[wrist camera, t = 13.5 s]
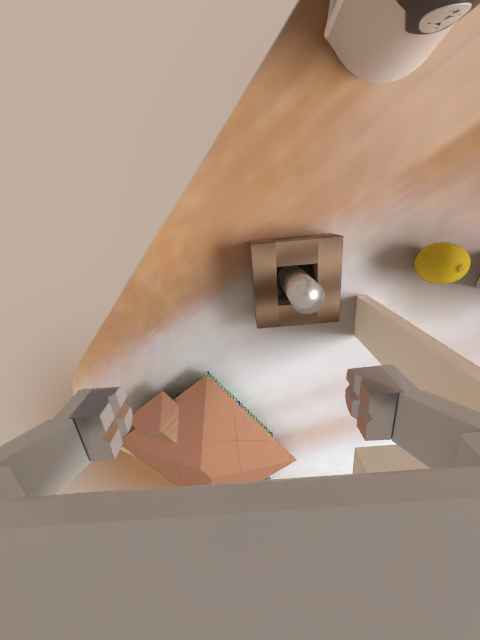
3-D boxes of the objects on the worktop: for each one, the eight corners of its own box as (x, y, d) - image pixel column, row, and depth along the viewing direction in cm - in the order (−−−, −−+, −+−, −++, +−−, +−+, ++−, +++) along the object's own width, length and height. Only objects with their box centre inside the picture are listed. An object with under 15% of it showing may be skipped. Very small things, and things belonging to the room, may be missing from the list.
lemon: (413, 236, 40) (453, 241, 32) (447, 244, 40) (494, 251, 33) (397, 272, 42) (432, 285, 34) (430, 279, 42) (471, 294, 35)
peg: (277, 265, 41) (290, 283, 31) (303, 263, 41) (325, 280, 31) (278, 290, 43) (291, 315, 32) (303, 288, 43) (324, 312, 32)
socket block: (249, 241, 40) (251, 244, 35) (330, 233, 39) (343, 236, 35) (255, 316, 44) (257, 328, 40) (328, 309, 44) (339, 321, 39)
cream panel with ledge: (285, 302, 43) (370, 462, 16) (366, 294, 43) (602, 446, 15) (287, 361, 47) (356, 572, 20) (361, 354, 47) (539, 561, 19)
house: (198, 354, 47) (190, 380, 40) (305, 458, 57) (316, 496, 49) (113, 420, 53) (92, 455, 45) (224, 506, 62) (222, 546, 55)
